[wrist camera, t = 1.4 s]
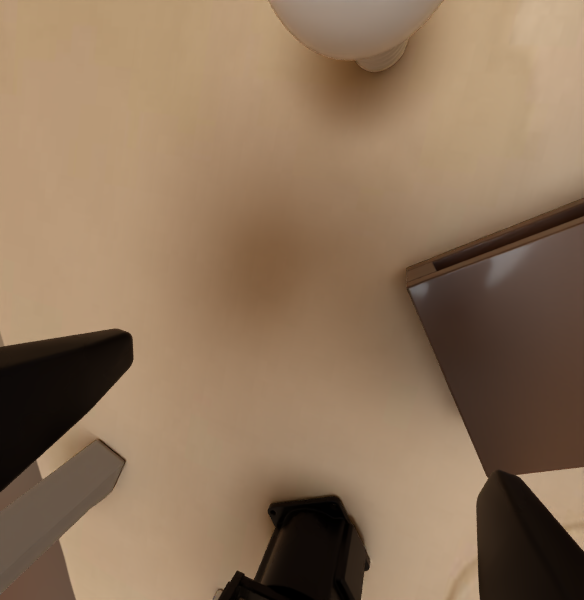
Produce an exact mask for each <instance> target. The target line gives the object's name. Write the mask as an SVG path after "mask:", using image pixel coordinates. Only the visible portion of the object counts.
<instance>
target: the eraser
mask: <svg viewBox="0 0 584 600" xmlns="http://www.w3.org/2000/svg"><path fill="white" fill-rule="evenodd" d="M222 592H223V591H221V590H218V591H217V592H216V594H215V596H214V598H213V600H218V598H219V597H220V595H221V593H222Z"/></svg>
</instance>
